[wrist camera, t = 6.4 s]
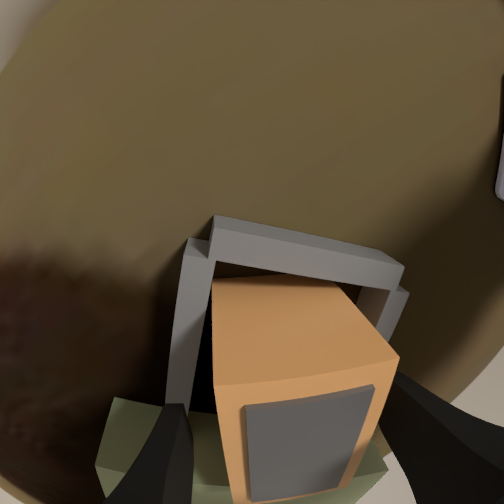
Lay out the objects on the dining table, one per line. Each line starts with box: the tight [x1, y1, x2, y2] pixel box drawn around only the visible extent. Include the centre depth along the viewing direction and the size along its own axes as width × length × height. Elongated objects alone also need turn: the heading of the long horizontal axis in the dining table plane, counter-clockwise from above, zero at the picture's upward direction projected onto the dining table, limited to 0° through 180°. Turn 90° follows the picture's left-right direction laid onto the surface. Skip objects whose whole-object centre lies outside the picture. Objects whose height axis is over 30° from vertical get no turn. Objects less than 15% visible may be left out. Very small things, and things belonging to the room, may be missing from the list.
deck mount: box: [95, 215, 410, 504], centre depth 12 cm, size 14×16×4 cm
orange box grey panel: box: [212, 274, 400, 504], centre depth 10 cm, size 4×7×6 cm, turn 1°
